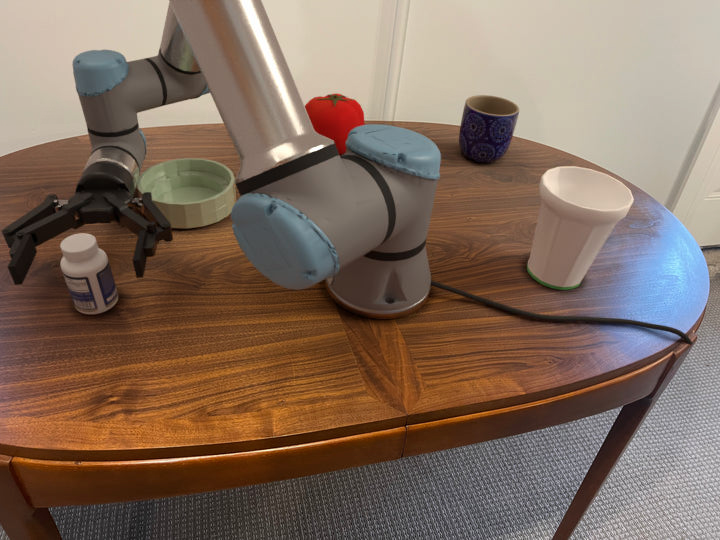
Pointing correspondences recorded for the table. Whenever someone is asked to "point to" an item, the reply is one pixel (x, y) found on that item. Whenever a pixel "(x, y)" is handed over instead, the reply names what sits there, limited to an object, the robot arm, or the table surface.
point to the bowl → (190, 191)
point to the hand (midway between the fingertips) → (77, 272)
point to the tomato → (335, 117)
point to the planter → (487, 127)
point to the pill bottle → (88, 274)
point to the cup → (574, 223)
